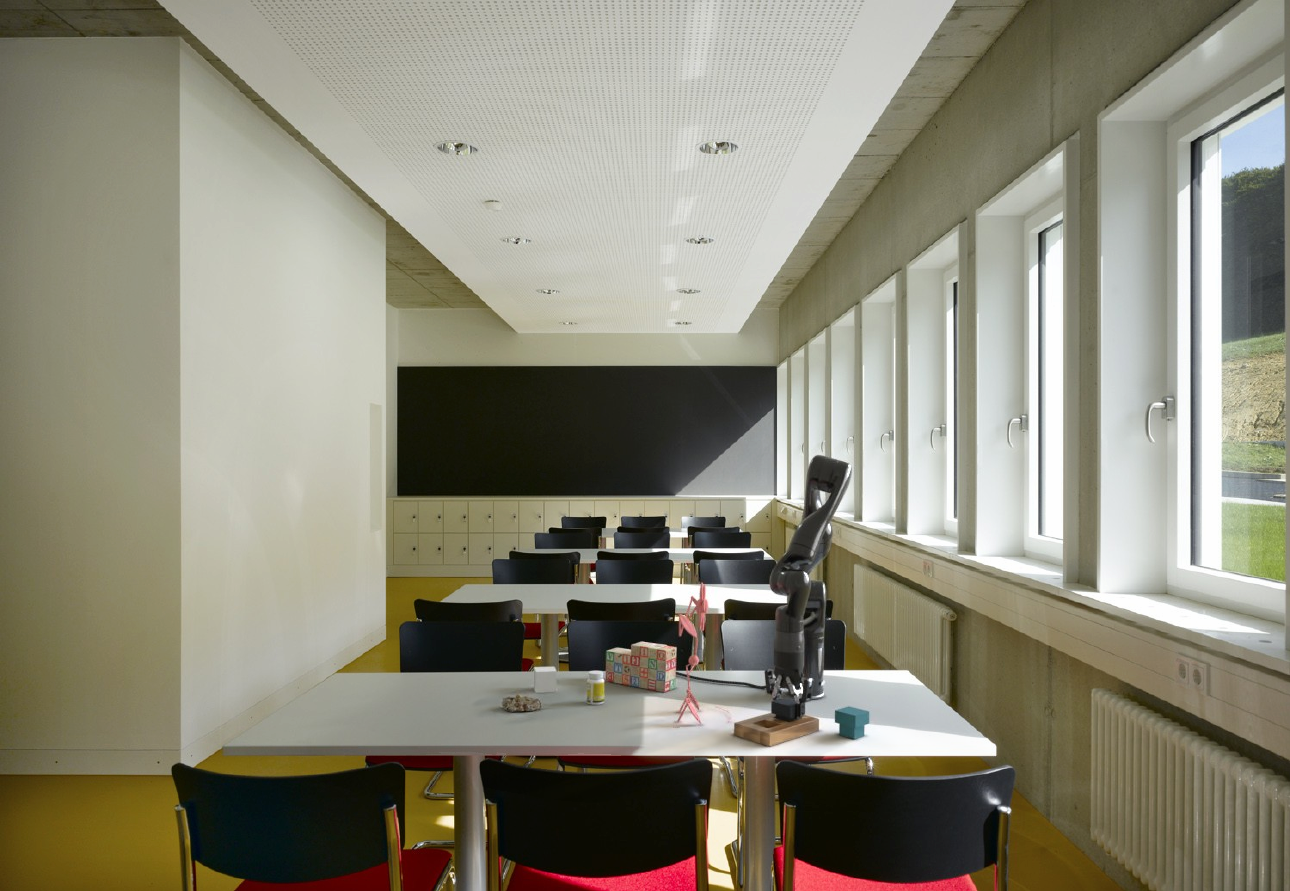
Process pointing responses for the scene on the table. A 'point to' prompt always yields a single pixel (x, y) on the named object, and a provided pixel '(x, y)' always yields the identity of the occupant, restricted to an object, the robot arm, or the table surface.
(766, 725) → the block
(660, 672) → the stack of blocks
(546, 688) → the white cube
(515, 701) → the mineral rock
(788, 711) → the dark grey cube
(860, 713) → the teal stepped block
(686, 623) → the figurine
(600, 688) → the supplement bottle
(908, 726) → the table surface
